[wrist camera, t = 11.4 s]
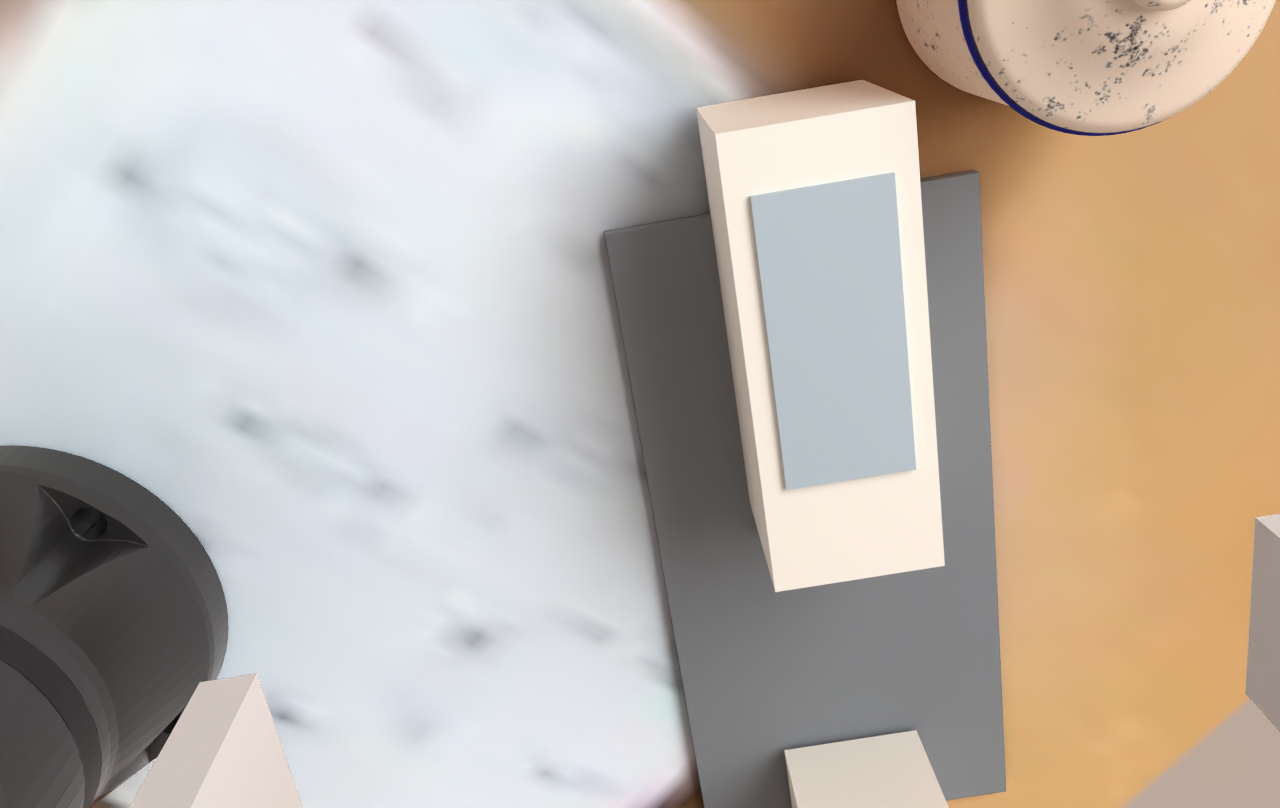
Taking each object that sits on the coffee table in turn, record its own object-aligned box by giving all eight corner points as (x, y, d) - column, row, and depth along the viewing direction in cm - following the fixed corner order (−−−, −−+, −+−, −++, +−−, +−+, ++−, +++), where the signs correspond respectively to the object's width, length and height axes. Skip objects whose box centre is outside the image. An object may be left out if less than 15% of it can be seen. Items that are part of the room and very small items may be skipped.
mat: (708, 826, 52) (709, 836, 51) (604, 231, 41) (604, 234, 41) (1001, 782, 51) (1006, 791, 51) (974, 169, 41) (979, 172, 40)
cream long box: (753, 531, 45) (780, 627, 39) (695, 107, 39) (715, 135, 32) (897, 508, 45) (948, 601, 39) (862, 79, 39) (917, 101, 32)
